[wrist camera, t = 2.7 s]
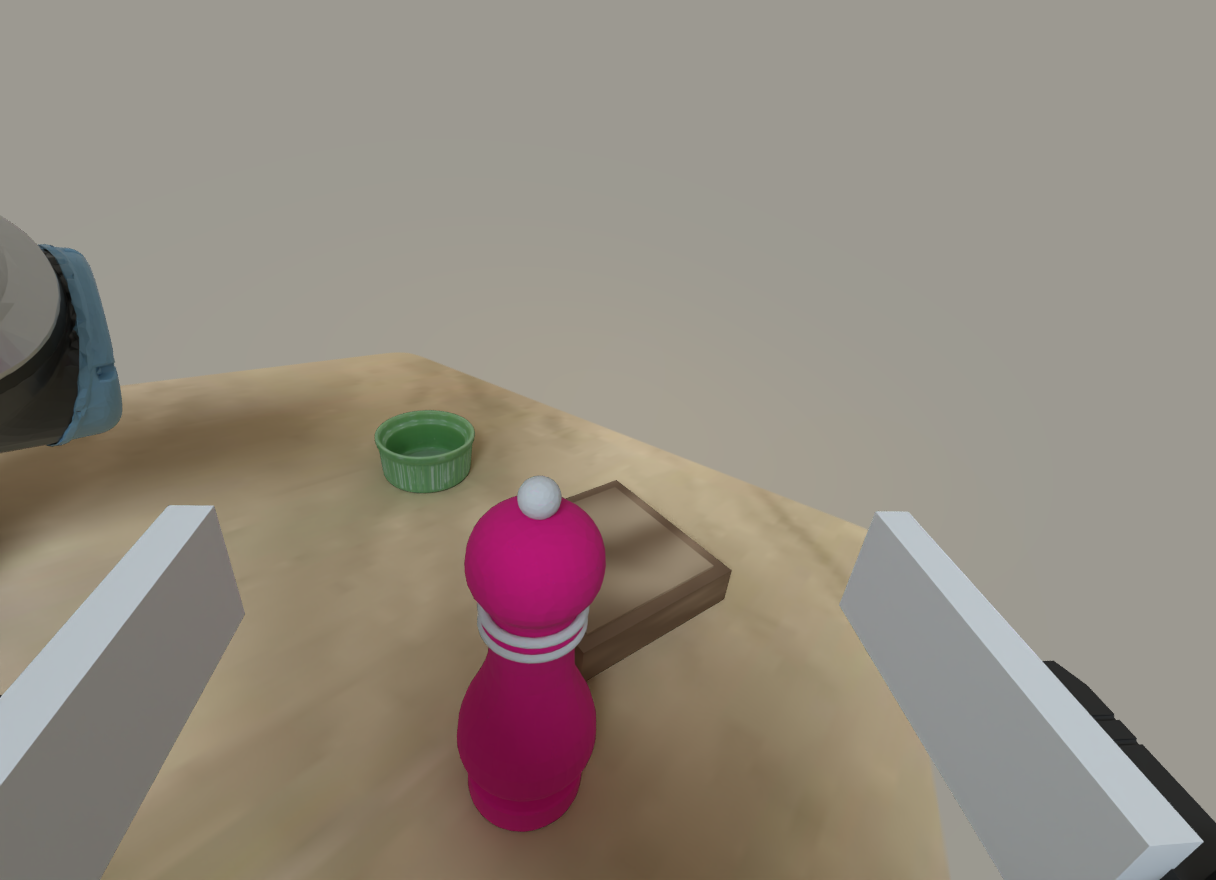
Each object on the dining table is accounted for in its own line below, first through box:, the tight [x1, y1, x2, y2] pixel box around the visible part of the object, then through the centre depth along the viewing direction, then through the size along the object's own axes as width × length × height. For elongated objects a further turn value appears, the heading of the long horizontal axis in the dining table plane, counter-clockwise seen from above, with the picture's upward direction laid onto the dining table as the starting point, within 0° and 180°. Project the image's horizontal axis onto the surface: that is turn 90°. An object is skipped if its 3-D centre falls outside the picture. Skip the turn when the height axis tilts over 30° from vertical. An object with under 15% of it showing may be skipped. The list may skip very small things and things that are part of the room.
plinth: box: [566, 480, 732, 681], centre depth 47 cm, size 14×14×3 cm
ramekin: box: [375, 410, 475, 493], centre depth 57 cm, size 9×9×4 cm
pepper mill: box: [457, 476, 606, 832], centre depth 29 cm, size 7×7×20 cm
